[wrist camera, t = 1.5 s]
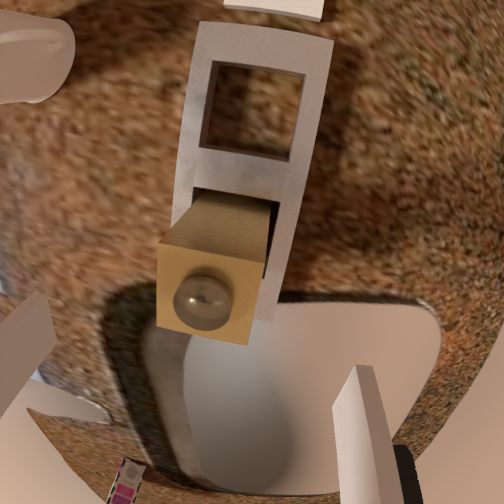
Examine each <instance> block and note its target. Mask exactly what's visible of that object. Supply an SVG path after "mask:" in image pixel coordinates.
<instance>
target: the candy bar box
mask: <svg viewBox="0 0 504 504" xmlns="http://www.w3.org/2000/svg"><path fill="white" fill-rule="evenodd" d="M146 468H147V466H145V465H143V464H140V463H138V462H136V461H133V460H131V459H129V458H126V457H124V459H123V462H122V464H121V466H120V468H119V471H118V473H117V476H116V478H115V481H114V483H113V486H112V488H111V491H110V493H109V496H108V498H107V501H106V504H134V502H135V499H136V496H137V493H138V490H139V487H140V484H141V482H142V479H143V476H144V473H145V470H146Z"/></svg>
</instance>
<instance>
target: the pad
mask: <svg viewBox="0 0 504 504" xmlns="http://www.w3.org/2000/svg"><path fill="white" fill-rule="evenodd" d="M223 5H224V6H225V8H227V9H239V10H249V11H258V12H265V13H273V14H279V15H285V16H291V17H296V18H302V19H307V20H311V21H316V22H320V20H321V16H322V10H323V5H324V0H224V4H223Z"/></svg>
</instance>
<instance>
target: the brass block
mask: <svg viewBox="0 0 504 504" xmlns="http://www.w3.org/2000/svg"><path fill="white" fill-rule="evenodd" d="M270 210H271V200H268V199H262V198H257V197H252V196H246V195H241V194H235V193H230V192H224V191H218V190H212V189H206V190H205V192H204V193H203V194H202V195H201V196H200V197H199V198H198V199H197V200H196V201H195V202H194V203H193V204H192V206H191V207H190V208H189V209H188V210H187V211H186V212H185V213H184V214H183V215H182V216H181V218H180V219H179V220H178V221H177V222H176V223H175V224H174V225H173V227H172V228H171V229H170V230H169V231H168V232H167V233H166V234H165V236H164V237H163V238H162V239H161V240H160V241H159V242H158V259H157V326H159V327H163V328H167V329H171V330H175V331H179V332H184V333H188V334H192V335H197V336H202V337H207V338H211V339H216V340H221V341H226V342H231V343H236V344H242V345H247V344H248V339H249V335H250V330H251V326H252V321H253V317H254V312H255V307H256V303H257V298H258V294H259V289H260V284H261V280H262V275H263V270H264V266H265V258H266V249H267V239H268V230H269V220H270Z"/></svg>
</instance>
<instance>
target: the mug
mask: <svg viewBox="0 0 504 504" xmlns="http://www.w3.org/2000/svg"><path fill="white" fill-rule="evenodd" d="M74 56H75V36H74V33H73V31H72V29H71V27H70V26H69V25H68V24H67V23H66V22H65V21H63V20H60V19H47V18H42V17H37V16H33V15H28V14H23V13H18V12H13V11H7V10H1V9H0V104H4V103H13V102H29V103H38V102H42V101H44V100H46V99H48V98H49V97H51V96H52V95H53V94H54V93H55V92H56V91H57V90H58V89H59V88H60V87H61V86H62V84H63V83H64V81H65V80H66V78H67V76H68V74H69V72H70V69H71V67H72V64H73V60H74Z"/></svg>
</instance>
